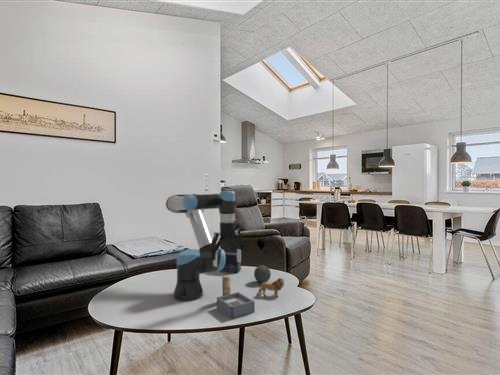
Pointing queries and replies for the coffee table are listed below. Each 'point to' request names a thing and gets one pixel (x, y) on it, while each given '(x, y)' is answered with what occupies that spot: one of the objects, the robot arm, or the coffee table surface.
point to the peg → (226, 285)
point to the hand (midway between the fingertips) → (227, 264)
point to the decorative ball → (262, 274)
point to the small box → (231, 263)
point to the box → (235, 305)
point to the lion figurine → (272, 286)
